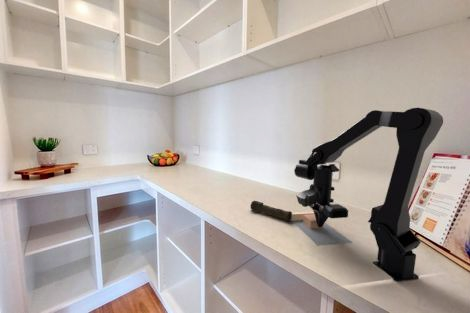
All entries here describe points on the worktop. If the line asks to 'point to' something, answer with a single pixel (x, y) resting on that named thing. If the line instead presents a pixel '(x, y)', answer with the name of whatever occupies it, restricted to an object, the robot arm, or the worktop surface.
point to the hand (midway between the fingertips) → (319, 226)
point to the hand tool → (271, 211)
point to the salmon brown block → (310, 221)
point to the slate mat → (319, 231)
